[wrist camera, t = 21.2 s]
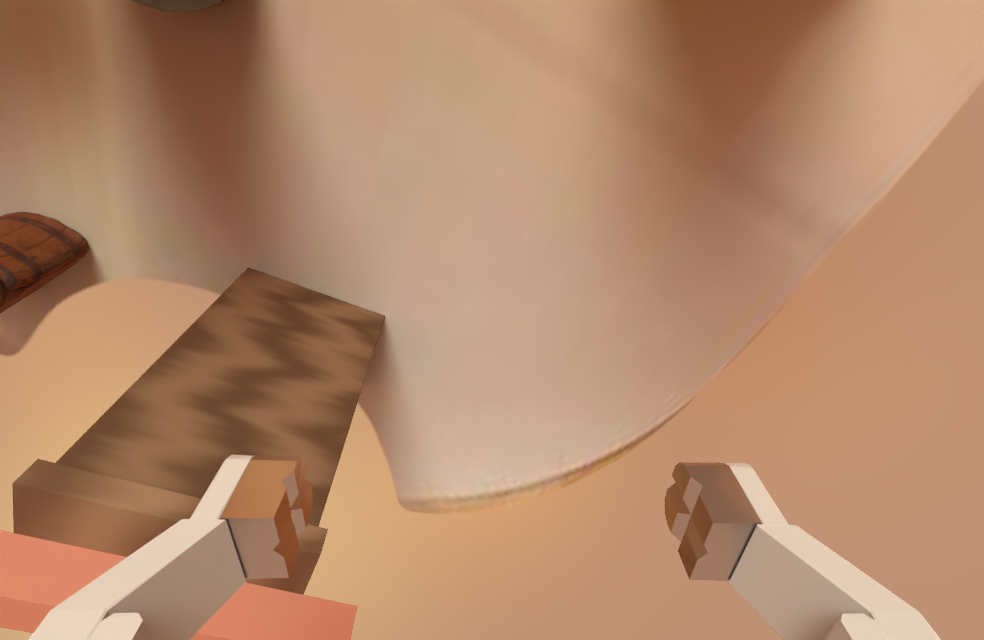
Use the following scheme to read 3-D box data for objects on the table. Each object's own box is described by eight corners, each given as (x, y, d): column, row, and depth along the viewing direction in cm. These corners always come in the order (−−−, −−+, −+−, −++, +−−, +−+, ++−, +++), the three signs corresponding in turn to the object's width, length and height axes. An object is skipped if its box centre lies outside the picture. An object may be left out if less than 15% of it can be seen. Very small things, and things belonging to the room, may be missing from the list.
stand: (391, 313, 48) (320, 554, 25) (361, 389, 52) (278, 653, 30) (243, 261, 45) (12, 483, 22) (225, 346, 49) (15, 605, 27)
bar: (357, 606, 28) (346, 660, 25) (344, 630, 29) (332, 684, 26) (-109, 507, 23) (-179, 562, 20) (-103, 541, 24) (-168, 598, 21)
